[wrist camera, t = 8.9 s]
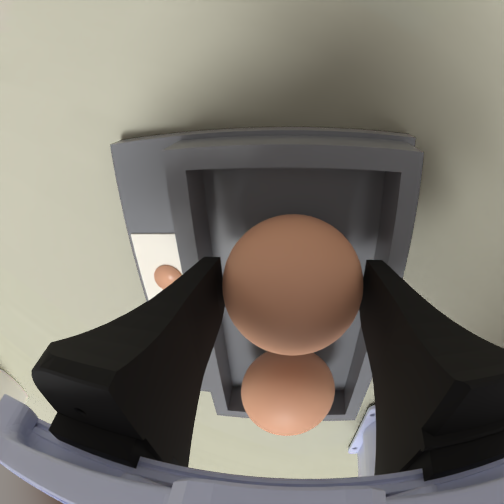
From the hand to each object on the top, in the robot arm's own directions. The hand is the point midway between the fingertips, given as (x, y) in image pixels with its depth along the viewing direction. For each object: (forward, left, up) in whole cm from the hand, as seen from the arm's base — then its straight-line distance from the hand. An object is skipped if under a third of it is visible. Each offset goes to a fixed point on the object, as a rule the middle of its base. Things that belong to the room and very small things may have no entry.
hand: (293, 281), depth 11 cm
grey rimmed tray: (-3, +2, -4) cm, 5 cm away
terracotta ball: (0, 0, -2) cm, 2 cm away
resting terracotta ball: (-7, 0, -3) cm, 8 cm away
